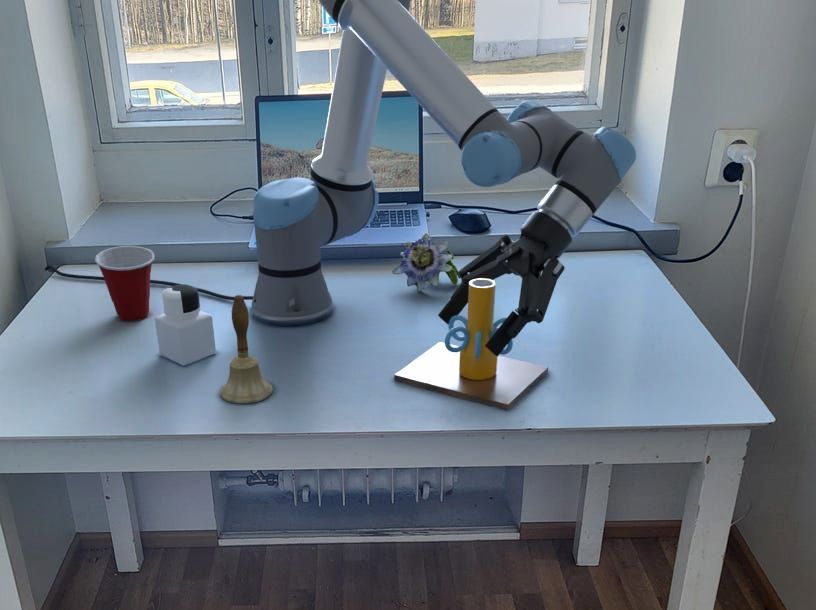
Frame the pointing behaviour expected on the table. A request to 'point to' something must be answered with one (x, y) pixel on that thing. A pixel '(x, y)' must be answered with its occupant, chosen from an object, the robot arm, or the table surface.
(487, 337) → the cylinder
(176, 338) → the medicine bottle
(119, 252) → the plastic cup
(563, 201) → the robot arm
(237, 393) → the hand bell
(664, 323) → the table surface
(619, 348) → the table surface
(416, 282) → the passion flower
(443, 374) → the plate
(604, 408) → the table surface
